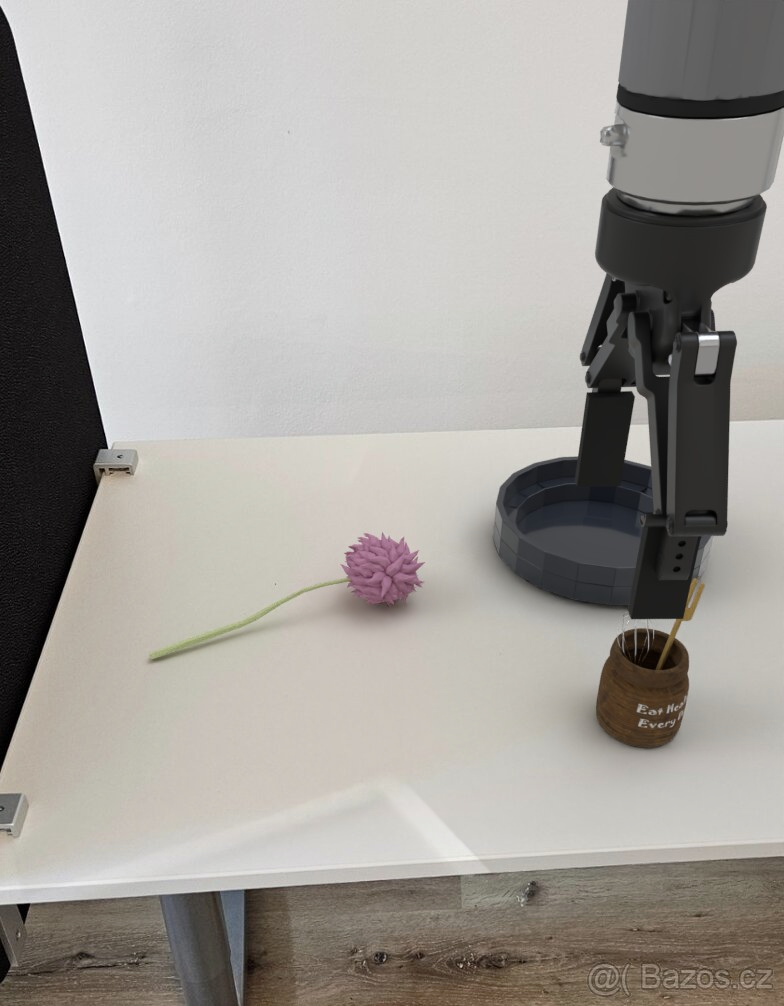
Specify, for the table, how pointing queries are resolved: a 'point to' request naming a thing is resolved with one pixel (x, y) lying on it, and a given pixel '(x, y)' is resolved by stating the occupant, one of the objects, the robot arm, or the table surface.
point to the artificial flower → (372, 571)
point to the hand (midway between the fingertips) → (623, 544)
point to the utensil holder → (646, 683)
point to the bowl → (576, 530)
